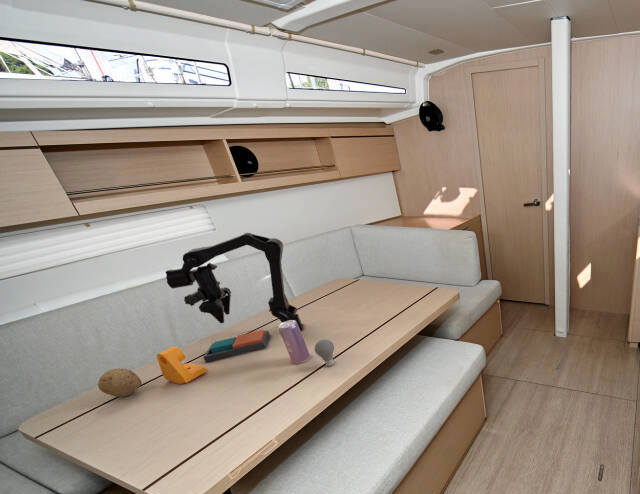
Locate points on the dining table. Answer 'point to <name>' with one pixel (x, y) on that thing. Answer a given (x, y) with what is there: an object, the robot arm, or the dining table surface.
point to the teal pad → (222, 345)
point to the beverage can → (294, 341)
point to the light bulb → (325, 351)
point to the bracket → (178, 366)
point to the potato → (119, 382)
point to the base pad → (248, 339)
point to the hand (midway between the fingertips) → (225, 318)
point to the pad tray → (237, 350)
